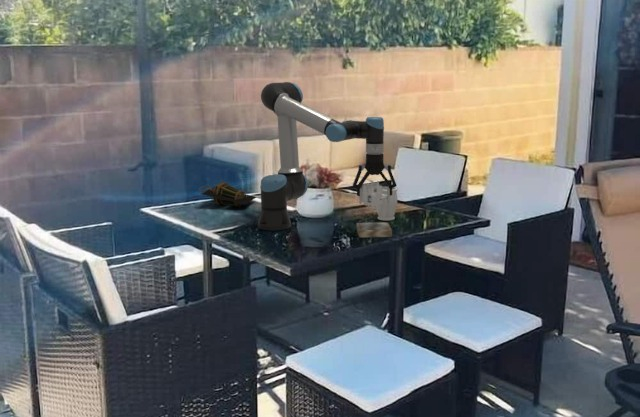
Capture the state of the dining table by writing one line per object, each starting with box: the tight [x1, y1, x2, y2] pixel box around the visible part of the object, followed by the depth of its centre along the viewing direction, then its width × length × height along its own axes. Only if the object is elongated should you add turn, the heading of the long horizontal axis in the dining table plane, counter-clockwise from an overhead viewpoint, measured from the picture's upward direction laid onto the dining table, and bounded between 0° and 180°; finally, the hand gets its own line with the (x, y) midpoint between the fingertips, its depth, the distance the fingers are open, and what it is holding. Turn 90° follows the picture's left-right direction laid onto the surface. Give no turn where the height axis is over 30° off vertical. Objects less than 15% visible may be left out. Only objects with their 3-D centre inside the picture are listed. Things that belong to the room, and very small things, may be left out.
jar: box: [375, 186, 398, 222], centre depth 320 cm, size 11×10×15 cm
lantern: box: [198, 179, 257, 208], centre depth 354 cm, size 14×23×30 cm
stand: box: [356, 221, 393, 238], centre depth 295 cm, size 14×14×3 cm
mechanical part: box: [360, 180, 388, 210], centre depth 291 cm, size 11×12×12 cm
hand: (374, 203), depth 292 cm, fingers closed on mechanical part, 11 cm apart
